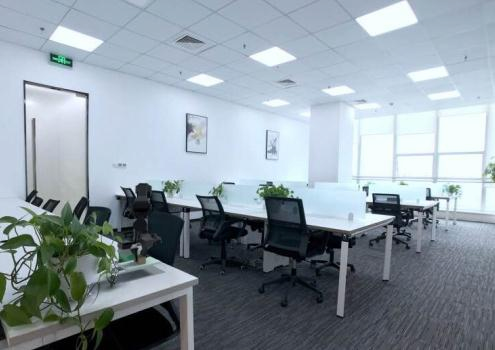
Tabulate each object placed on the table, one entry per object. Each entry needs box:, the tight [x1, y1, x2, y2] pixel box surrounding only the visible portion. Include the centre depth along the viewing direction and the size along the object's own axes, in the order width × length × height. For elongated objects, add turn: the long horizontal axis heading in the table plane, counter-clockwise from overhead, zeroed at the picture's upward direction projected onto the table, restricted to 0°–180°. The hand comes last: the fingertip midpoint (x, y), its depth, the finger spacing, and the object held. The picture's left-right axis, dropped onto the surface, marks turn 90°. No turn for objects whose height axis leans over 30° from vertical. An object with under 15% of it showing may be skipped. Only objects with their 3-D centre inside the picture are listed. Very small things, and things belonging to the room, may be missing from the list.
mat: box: [115, 265, 166, 284], centre depth 129 cm, size 13×20×1 cm, turn 137°
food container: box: [116, 244, 142, 263], centre depth 138 cm, size 12×6×10 cm, turn 143°
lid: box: [116, 254, 162, 271], centre depth 128 cm, size 10×16×4 cm, turn 137°
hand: (139, 260), depth 128 cm, fingers closed on lid, 3 cm apart
